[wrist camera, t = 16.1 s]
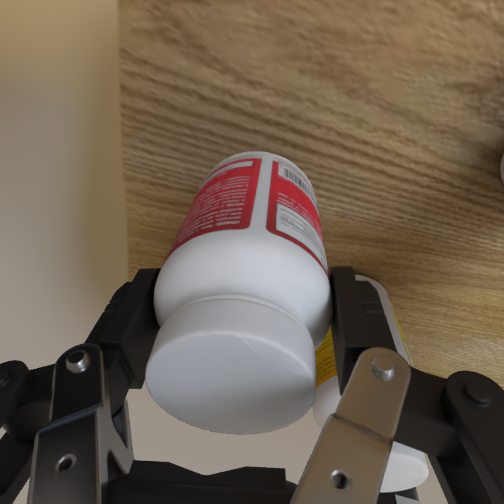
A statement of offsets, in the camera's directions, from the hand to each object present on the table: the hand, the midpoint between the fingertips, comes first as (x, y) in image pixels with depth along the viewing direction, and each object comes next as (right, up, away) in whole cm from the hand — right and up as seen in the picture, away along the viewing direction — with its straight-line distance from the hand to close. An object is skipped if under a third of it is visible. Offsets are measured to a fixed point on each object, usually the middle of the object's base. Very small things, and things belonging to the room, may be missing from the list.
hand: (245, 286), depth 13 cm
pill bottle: (+1, +4, +6) cm, 7 cm away
